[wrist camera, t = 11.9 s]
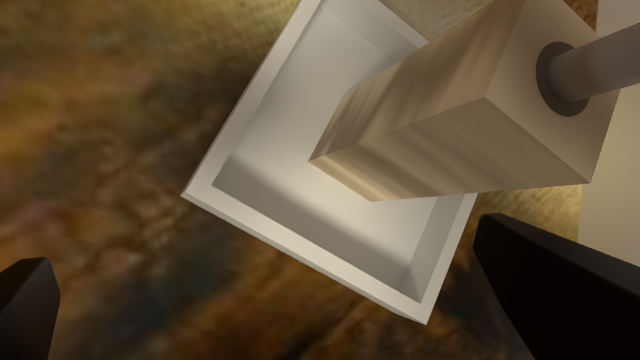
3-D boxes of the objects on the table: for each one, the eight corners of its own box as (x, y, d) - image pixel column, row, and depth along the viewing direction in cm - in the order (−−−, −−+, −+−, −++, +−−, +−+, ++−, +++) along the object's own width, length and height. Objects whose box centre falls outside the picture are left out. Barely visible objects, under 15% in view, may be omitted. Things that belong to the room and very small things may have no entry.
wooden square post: (369, 202, 24) (694, 174, 10) (307, 161, 23) (575, 63, 9) (400, 138, 25) (728, 32, 11) (342, 97, 24) (628, -84, 10)
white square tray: (394, 313, 25) (426, 325, 22) (180, 195, 21) (185, 191, 18) (475, 119, 28) (511, 108, 26) (306, -12, 24) (327, -42, 22)
